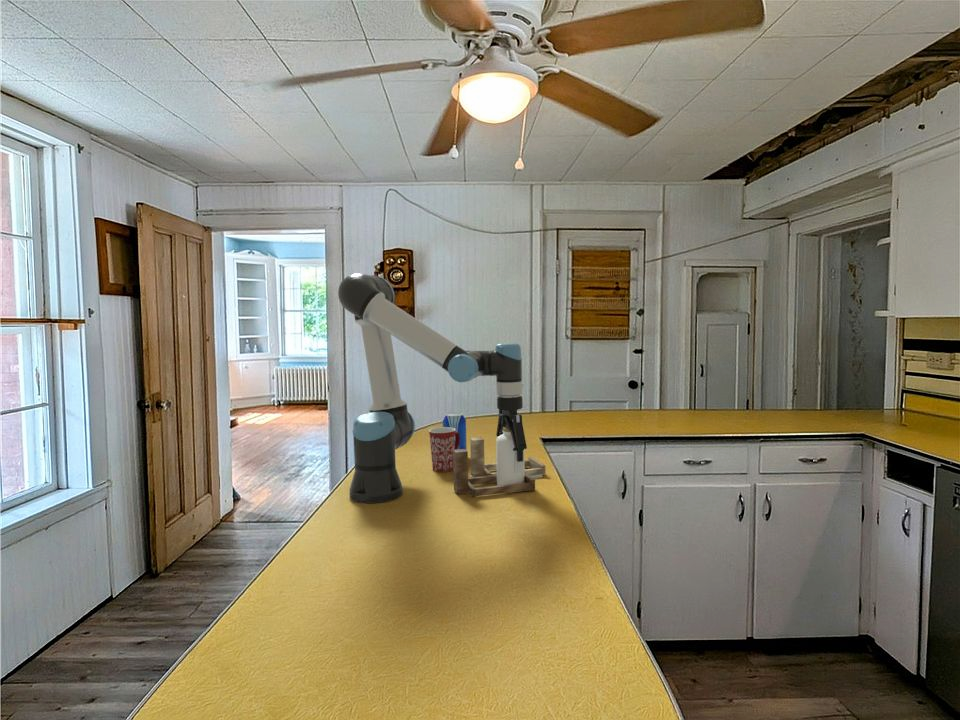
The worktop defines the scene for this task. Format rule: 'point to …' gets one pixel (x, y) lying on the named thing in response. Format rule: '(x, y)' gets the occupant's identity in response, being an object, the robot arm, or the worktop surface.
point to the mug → (443, 447)
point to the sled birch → (483, 469)
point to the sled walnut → (482, 479)
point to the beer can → (457, 426)
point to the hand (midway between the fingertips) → (511, 466)
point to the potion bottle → (507, 460)
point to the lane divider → (536, 476)
